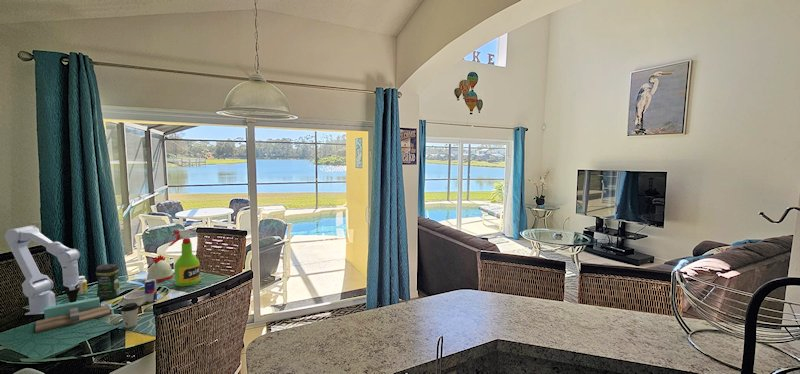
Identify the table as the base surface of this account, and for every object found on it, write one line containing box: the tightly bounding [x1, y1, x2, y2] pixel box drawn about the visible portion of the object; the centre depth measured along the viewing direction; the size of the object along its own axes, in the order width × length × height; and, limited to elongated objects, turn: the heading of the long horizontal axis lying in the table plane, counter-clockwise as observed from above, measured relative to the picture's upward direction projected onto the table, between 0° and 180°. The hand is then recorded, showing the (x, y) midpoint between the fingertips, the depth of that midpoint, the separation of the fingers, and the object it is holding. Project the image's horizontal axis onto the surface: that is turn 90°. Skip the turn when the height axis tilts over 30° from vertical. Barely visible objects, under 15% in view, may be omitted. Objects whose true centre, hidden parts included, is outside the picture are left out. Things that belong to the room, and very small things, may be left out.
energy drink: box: [143, 278, 158, 303], centre depth 186 cm, size 5×5×12 cm
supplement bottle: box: [77, 275, 88, 296], centre depth 194 cm, size 5×5×10 cm
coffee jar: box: [95, 263, 121, 300], centre depth 190 cm, size 10×8×19 cm
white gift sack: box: [146, 254, 174, 283], centre depth 219 cm, size 14×14×15 cm
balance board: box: [34, 304, 112, 333], centre depth 166 cm, size 12×26×4 cm, turn 136°
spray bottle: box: [168, 229, 201, 287], centre depth 210 cm, size 14×18×35 cm
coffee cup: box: [119, 302, 140, 329], centre depth 160 cm, size 7×7×10 cm
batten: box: [44, 296, 101, 319], centre depth 172 cm, size 20×4×5 cm, turn 130°
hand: (72, 299), depth 172 cm, fingers open, 7 cm apart
